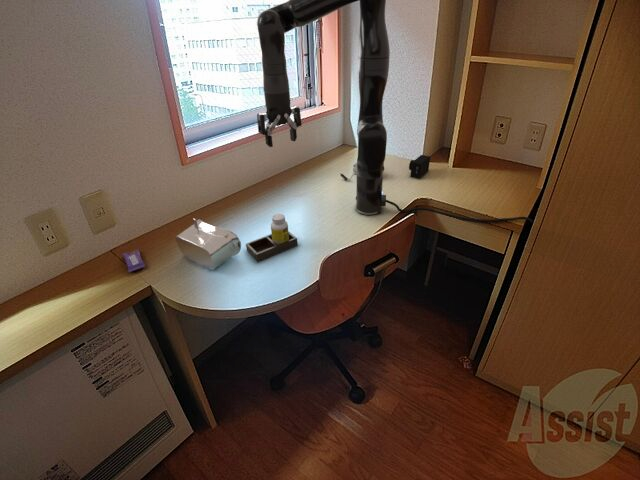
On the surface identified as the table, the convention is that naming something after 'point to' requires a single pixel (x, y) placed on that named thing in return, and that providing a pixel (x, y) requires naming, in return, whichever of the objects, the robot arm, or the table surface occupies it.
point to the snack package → (133, 260)
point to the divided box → (269, 247)
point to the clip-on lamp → (353, 171)
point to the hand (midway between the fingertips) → (282, 143)
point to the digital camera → (419, 166)
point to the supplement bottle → (279, 229)
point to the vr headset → (208, 244)
